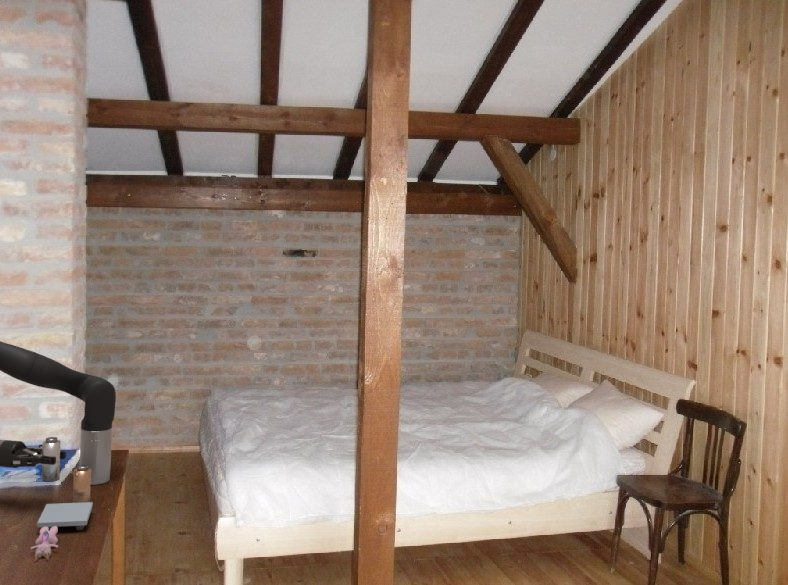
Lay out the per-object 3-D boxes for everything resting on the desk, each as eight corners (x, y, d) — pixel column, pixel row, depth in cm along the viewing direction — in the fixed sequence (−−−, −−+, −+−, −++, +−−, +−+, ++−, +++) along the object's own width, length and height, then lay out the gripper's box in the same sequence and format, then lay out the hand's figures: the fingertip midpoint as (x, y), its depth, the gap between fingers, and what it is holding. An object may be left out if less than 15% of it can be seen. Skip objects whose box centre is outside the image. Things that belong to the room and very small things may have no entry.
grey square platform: (46, 515, 202) (46, 503, 202) (92, 513, 205) (92, 502, 205) (36, 534, 188) (37, 522, 188) (86, 532, 192) (86, 520, 192)
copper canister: (69, 505, 210) (71, 465, 209) (85, 502, 213) (87, 462, 212) (76, 510, 206) (77, 469, 206) (92, 507, 210) (93, 467, 209)
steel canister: (39, 479, 206) (40, 437, 205) (56, 475, 209) (57, 435, 208) (45, 483, 202) (45, 441, 202) (62, 480, 206) (62, 439, 205)
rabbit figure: (55, 565, 175) (63, 531, 189) (55, 543, 174) (63, 511, 188) (27, 567, 173) (37, 533, 187) (27, 545, 172) (37, 512, 186)
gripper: (-13, 447, 199) (46, 452, 198) (19, 433, 213) (74, 438, 212) (-13, 474, 200) (45, 479, 198) (19, 458, 214) (73, 463, 212)
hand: (60, 458), depth 205 cm, fingers closed on steel canister, 4 cm apart
